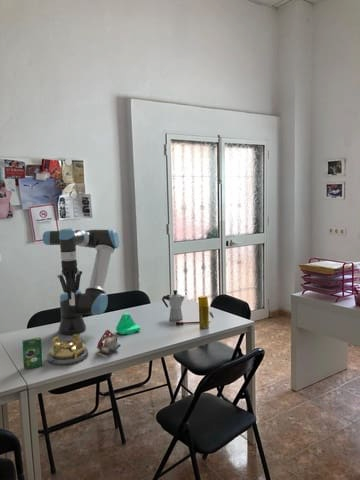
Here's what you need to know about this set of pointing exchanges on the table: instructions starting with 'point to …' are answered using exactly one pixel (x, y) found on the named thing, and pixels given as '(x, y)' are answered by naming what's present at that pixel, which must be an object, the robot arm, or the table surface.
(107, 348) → the brake caliper
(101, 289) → the robot arm
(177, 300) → the coffee maker
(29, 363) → the coffee box
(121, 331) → the camera mount
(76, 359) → the index base
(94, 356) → the table surface
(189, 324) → the table surface
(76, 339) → the brass finned hub
